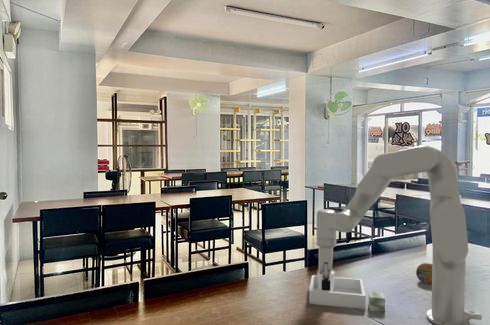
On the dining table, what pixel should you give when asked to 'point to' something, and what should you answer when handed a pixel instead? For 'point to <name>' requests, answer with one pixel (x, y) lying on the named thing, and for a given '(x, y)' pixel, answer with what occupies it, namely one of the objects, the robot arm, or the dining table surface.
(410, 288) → the dining table surface
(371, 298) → the cube
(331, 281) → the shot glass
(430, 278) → the tin
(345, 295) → the tote
